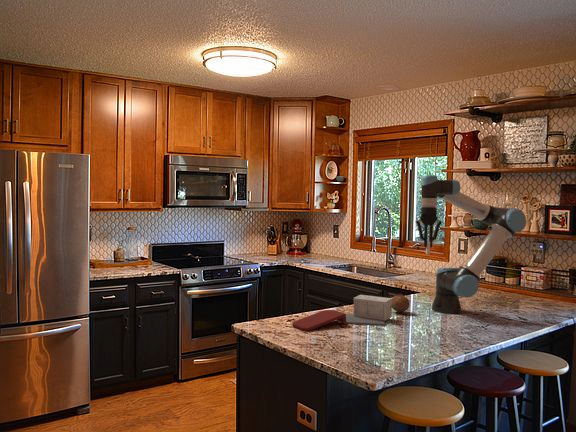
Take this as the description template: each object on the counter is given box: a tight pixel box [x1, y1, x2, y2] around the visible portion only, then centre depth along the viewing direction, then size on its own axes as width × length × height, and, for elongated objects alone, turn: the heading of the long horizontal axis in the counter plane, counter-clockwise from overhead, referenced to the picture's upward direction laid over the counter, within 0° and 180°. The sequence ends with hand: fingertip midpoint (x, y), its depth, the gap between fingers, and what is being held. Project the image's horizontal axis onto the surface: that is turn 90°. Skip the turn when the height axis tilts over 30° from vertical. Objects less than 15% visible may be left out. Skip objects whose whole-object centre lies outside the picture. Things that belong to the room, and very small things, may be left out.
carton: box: [291, 309, 347, 332], centre depth 241 cm, size 12×5×25 cm
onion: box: [391, 293, 410, 314], centre depth 270 cm, size 10×9×10 cm
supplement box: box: [352, 294, 393, 322], centre depth 257 cm, size 10×9×17 cm
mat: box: [343, 313, 386, 326], centre depth 252 cm, size 16×20×1 cm
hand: (427, 253), depth 260 cm, fingers closed
